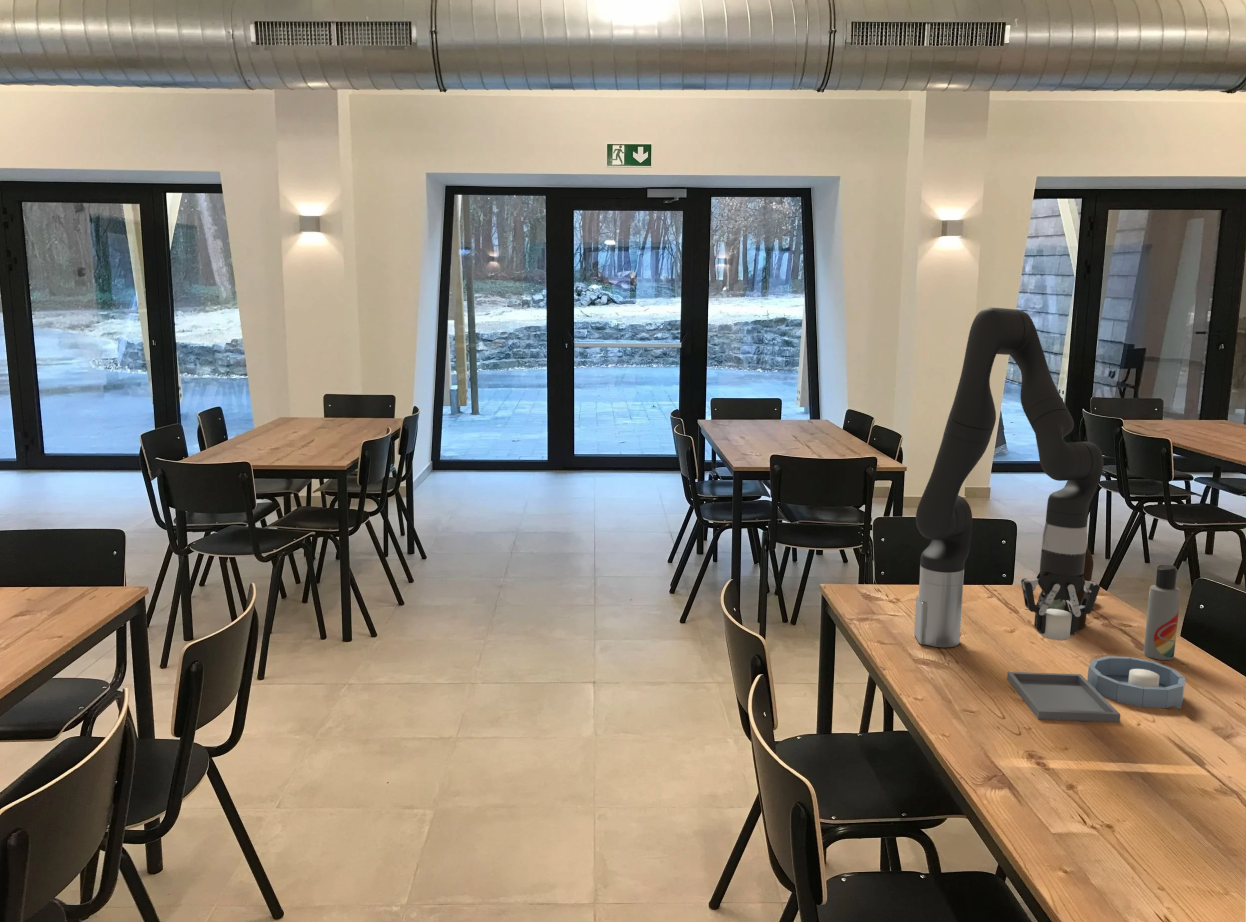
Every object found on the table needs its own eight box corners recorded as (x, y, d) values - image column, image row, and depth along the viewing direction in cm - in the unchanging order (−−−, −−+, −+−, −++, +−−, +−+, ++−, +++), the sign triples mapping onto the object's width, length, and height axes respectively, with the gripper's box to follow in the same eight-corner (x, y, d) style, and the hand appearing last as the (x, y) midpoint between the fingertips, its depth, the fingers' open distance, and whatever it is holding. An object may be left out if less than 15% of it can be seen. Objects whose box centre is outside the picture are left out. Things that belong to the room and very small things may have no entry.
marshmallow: (1046, 639, 173) (1048, 617, 172) (1037, 630, 178) (1039, 608, 177) (1073, 641, 173) (1076, 618, 172) (1064, 631, 178) (1066, 609, 177)
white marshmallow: (1134, 701, 172) (1136, 678, 172) (1122, 690, 177) (1124, 668, 176) (1162, 702, 172) (1164, 679, 171) (1149, 691, 177) (1151, 669, 176)
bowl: (1108, 710, 171) (1110, 687, 170) (1075, 676, 186) (1077, 655, 186) (1199, 713, 169) (1201, 690, 168) (1157, 679, 185) (1160, 657, 184)
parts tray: (1038, 724, 165) (1039, 711, 165) (1006, 683, 183) (1007, 671, 183) (1119, 727, 164) (1120, 714, 164) (1079, 686, 182) (1080, 674, 181)
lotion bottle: (1178, 661, 194) (1187, 570, 190) (1148, 659, 195) (1157, 569, 192) (1168, 651, 199) (1177, 562, 196) (1139, 649, 200) (1148, 561, 197)
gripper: (1095, 543, 175) (1086, 627, 178) (1017, 540, 177) (1010, 624, 180) (1112, 554, 168) (1102, 642, 171) (1030, 551, 169) (1022, 638, 172)
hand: (1055, 632), depth 175 cm, fingers closed on marshmallow, 5 cm apart
